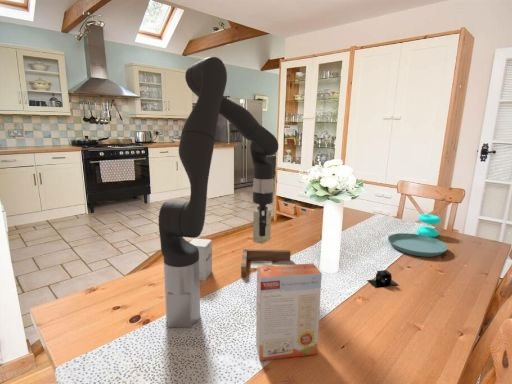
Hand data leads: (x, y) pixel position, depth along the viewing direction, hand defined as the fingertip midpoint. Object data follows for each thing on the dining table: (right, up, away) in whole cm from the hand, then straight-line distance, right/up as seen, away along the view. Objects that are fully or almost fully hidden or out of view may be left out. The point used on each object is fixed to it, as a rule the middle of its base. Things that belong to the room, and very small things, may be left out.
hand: (261, 232), depth 115 cm
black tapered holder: (+42, -17, -9) cm, 47 cm away
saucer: (+71, -11, +24) cm, 76 cm away
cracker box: (+5, -23, -42) cm, 48 cm away
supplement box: (-23, -15, -6) cm, 28 cm away
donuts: (+87, -7, +42) cm, 97 cm away
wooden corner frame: (+2, -14, +1) cm, 14 cm away
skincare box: (0, -4, +1) cm, 4 cm away
